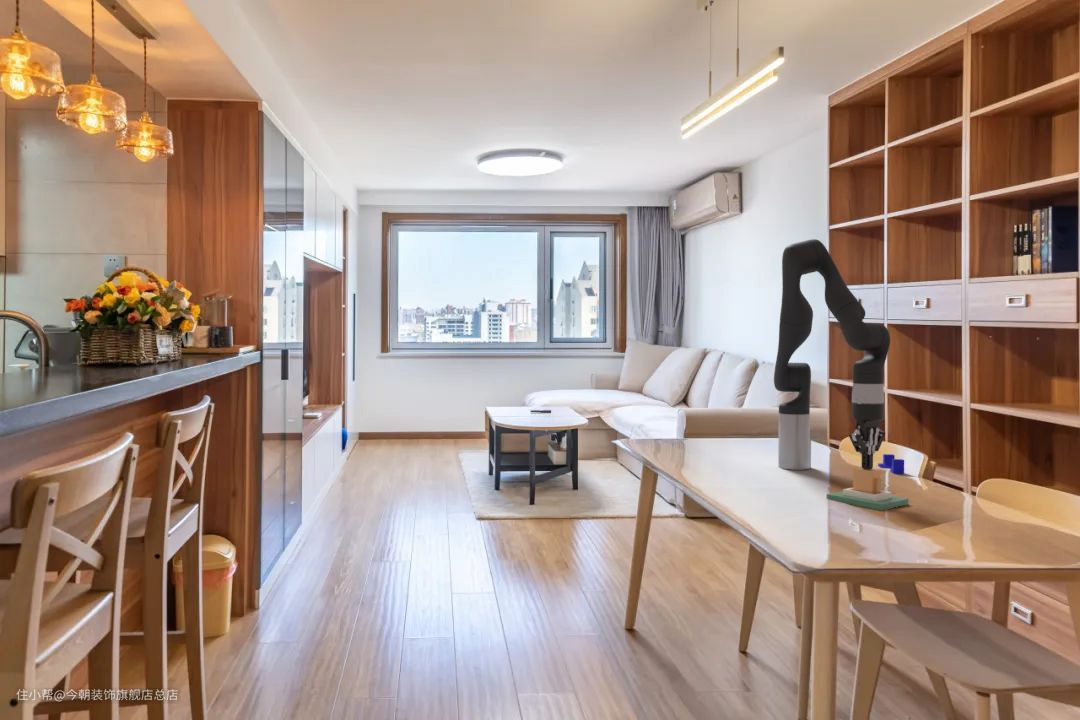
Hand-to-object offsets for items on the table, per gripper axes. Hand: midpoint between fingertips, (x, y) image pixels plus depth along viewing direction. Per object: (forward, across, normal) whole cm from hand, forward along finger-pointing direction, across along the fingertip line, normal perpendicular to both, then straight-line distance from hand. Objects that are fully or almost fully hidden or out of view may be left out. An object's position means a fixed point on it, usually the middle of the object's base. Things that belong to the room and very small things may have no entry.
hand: (867, 468), depth 183 cm
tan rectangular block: (+7, 0, 0) cm, 7 cm away
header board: (+9, 0, 0) cm, 9 cm away
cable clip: (+9, -44, -19) cm, 49 cm away
